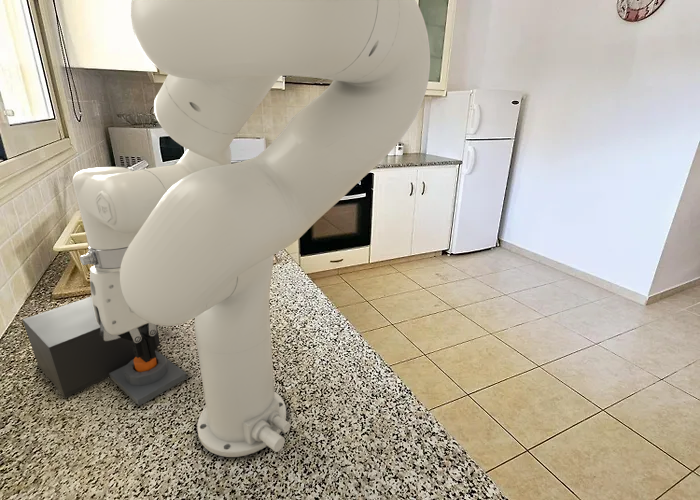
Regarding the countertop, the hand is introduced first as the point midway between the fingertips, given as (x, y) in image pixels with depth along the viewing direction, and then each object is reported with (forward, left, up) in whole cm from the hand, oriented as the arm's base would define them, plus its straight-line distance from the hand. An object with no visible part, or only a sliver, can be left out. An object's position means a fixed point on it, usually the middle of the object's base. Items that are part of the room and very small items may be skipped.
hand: (146, 356), depth 61 cm
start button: (+1, 0, -2) cm, 2 cm away
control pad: (+1, 0, -5) cm, 5 cm away
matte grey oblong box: (+13, +3, -5) cm, 14 cm away
